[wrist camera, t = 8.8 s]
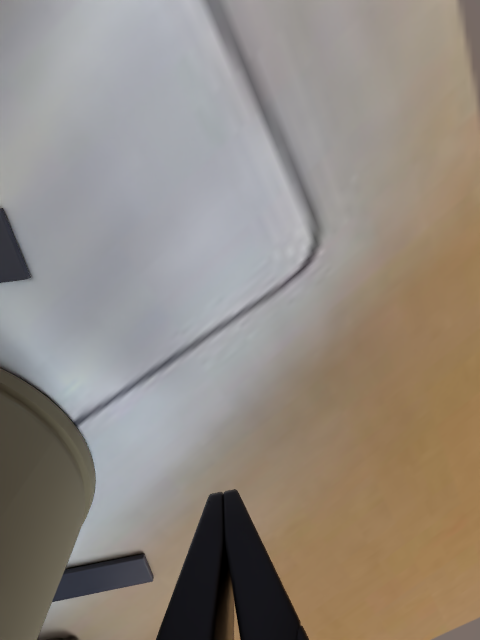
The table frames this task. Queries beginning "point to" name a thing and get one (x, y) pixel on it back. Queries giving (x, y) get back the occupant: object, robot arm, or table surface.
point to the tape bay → (8, 265)
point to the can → (37, 503)
